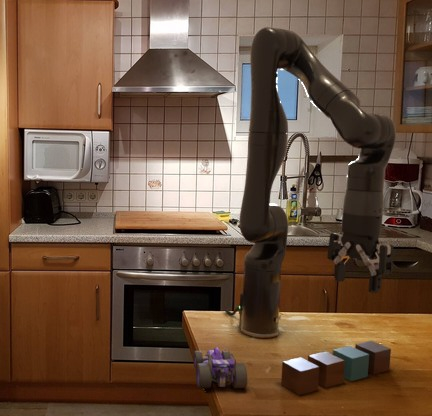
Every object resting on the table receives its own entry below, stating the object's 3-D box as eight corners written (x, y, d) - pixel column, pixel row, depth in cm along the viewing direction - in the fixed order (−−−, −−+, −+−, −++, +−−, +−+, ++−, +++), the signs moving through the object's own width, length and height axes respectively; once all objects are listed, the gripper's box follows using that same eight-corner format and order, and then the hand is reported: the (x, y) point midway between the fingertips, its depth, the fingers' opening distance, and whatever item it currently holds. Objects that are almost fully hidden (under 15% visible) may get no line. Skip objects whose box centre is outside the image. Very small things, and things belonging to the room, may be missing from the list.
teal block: (331, 371, 113) (333, 349, 112) (348, 367, 115) (349, 345, 115) (350, 381, 109) (352, 358, 108) (367, 376, 111) (369, 354, 110)
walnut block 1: (281, 384, 107) (282, 361, 107) (299, 379, 109) (300, 357, 109) (299, 395, 103) (300, 371, 102) (318, 390, 105) (319, 366, 104)
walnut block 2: (306, 377, 110) (307, 355, 110) (324, 373, 112) (325, 351, 112) (325, 388, 106) (326, 364, 105) (343, 383, 108) (344, 360, 107)
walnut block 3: (353, 365, 116) (355, 344, 115) (369, 361, 118) (371, 340, 118) (373, 374, 112) (375, 352, 111) (389, 370, 114) (391, 348, 113)
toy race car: (229, 360, 119) (230, 332, 118) (247, 392, 104) (248, 361, 103) (187, 360, 119) (188, 332, 118) (199, 392, 104) (200, 361, 103)
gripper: (322, 207, 113) (317, 279, 116) (380, 217, 101) (372, 298, 103) (347, 205, 116) (341, 276, 119) (406, 215, 104) (398, 294, 106)
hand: (356, 286), depth 111 cm, fingers open, 8 cm apart
